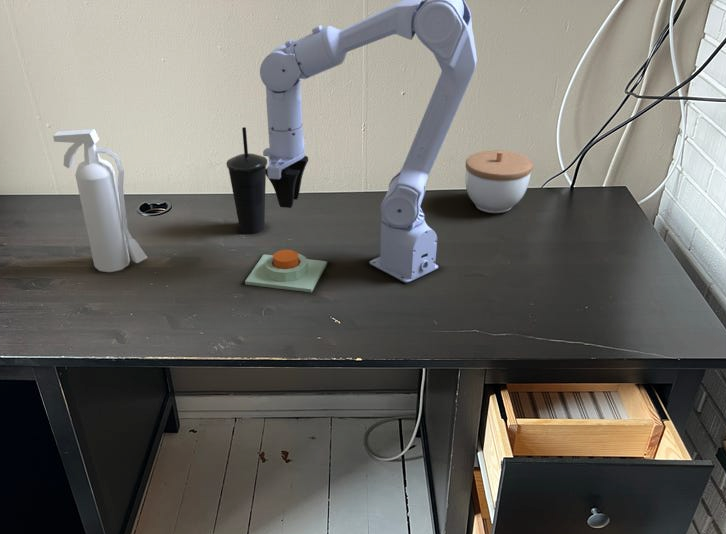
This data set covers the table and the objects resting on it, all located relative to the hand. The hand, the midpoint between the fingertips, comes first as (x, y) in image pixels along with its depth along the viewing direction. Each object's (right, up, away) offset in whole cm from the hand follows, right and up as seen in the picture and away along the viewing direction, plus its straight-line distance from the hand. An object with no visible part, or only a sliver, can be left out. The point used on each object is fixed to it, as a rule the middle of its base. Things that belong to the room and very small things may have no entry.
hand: (289, 202), depth 129 cm
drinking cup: (-7, -2, +16) cm, 18 cm away
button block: (0, -13, +1) cm, 13 cm away
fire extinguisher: (-32, -10, +7) cm, 34 cm away
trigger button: (-1, -11, -1) cm, 11 cm away
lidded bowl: (+41, +3, +19) cm, 46 cm away
